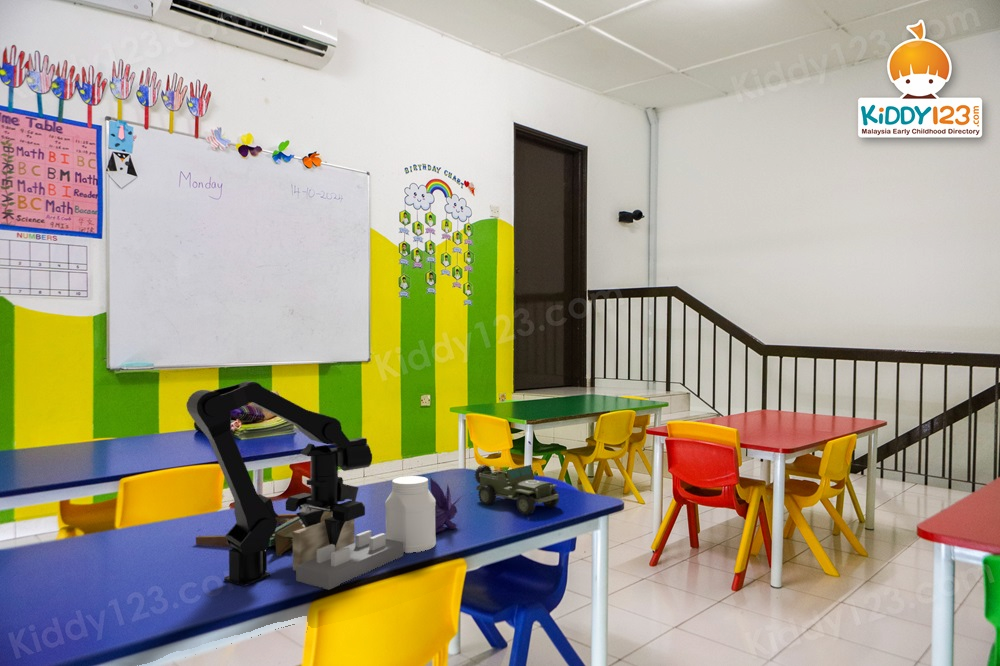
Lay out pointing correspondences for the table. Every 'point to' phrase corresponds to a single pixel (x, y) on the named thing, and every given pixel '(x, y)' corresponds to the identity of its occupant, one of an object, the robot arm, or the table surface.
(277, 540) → the miniature gate
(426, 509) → the jar
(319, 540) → the birch door
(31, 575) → the table surface
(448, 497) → the creature
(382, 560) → the hinge plinth
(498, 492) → the toy jeep
